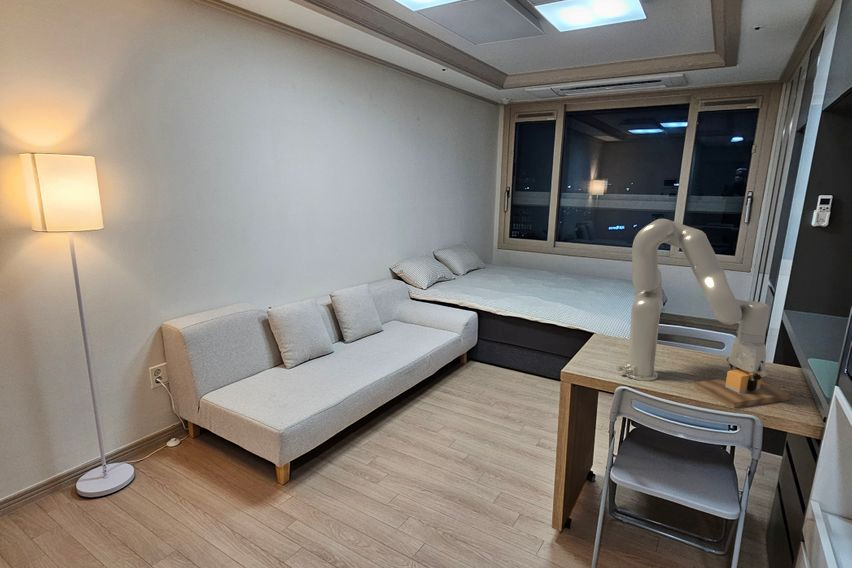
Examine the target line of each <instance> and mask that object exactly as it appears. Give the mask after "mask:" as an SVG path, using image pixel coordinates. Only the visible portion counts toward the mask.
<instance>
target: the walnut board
mask: <svg viewBox="0 0 852 568" xmlns="http://www.w3.org/2000/svg"><path fill="white" fill-rule="evenodd" d="M726 379H727V377H725V378H719V379H711V380H702V381H695V382H694V386H693V387H694V388H695V389H696V390H698V391H700V392H703V393H705V395H708V396H710V397H712V398H714V399H716V400H718V401H719V402H721V403H723V404H725V405H727V406H729V407H731V408H732V409H736V408H744V407H750V406H751V407H752V406H757V405H764V404H770V403H777V402H783V401H791V399H792V395H793V394H792V393H790V392H788V391H785V390H784V389H780V388H778V387H775V386H773V385H772V384H771V385H770V384H768V383H767V382H764V381H762V380H761V384H760V389H756V390H753V391H746V392H742V393H738V392H736V391H733V390H731V389H729V388H726V387H725V385H726Z"/></svg>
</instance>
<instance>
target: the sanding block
mask: <svg viewBox="0 0 852 568" xmlns="http://www.w3.org/2000/svg"><path fill="white" fill-rule="evenodd" d="M759 374H761V372H759ZM754 376H755V373H754ZM726 378H727V379H726V385H725V387H726V388H729V389H731V390H733V391H736V392H738V393H742V392H746V391H748V390H747V386H748V380H750V373H749V372H747V371H744V370H742V369H737V370H731V369H730V370H727V374H726ZM761 381H762V378H761V379H760V380H758V381H757V387H756V389H760V384H761Z"/></svg>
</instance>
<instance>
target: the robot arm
mask: <svg viewBox="0 0 852 568" xmlns="http://www.w3.org/2000/svg"><path fill="white" fill-rule="evenodd" d="M661 244H667V245H671V246H673V247H674V248H675V247H676V248H679V249H681V251H682V253H683V255H684V257H685V259H686V261H687V263H688V265H689V266H690V269H691V270H692V272H693V275H694V277H695V278H696V281H697V283H698V284H699V287H700V289H701V290H702V292H703V294H704V295H705V298H706V300H707V303H708V304H709V305H710V308H711V309H712V311H713V314H714V316H715V318H716V319H717V320H718V321H719V322H720V323H721V324H724V325H726V326H727V325H728V326H730V325H736V324H738V323H739V324H738V329H736V331H735V333H736V334H737V337H735V338H734V340H733V342H732V344H731V349H730V352H729V356H728V357H727V358H726V359H725V361H726V362H727V363H728V364H729V367H730V371H731V370H737V369H742V370H744V371H747V372H749V373H750V380H748V386H747V390H748V391H753V390H756V387H757V381H758V380H760V379H761V380H762V379H763V378H766V377H768V376H769V373H768V370H767V369H766V367H765V366H766V359H767V358H766V357H767V356H766V355H767V349H766V344H765V339H766V334H767V328H768V327H767V326H768V322H769V321H768V320H769V314H770V306H769V305H768V304H767V303H765V302H761V301H755V300H750V301H747V300H742V299H739V298H738V299H737V298H736V297H735V295H734V293H733V291H732V289H731V287H730V285H729V282H728V279H727V276H726V274H725V273H726V272H725V271H724V269H723V266H722V264H721V262H720V261H719V258H718V256H717V255H716V253H715V250H714V248H713V247H712V244H711V243H710V241H709V239H708V237H707V234H706V233H705V232H704V231H703V230H700V229H698V228H695V227H691V226H688V225H685V224H682V223H679V222H676V221H673V220H670V219H667V218H658V219H655V220H654V221H652V222H651V223H649V224H647V225H645V226H644V227H642V228H641V229H640V230H639V231H638V232H637V234H636V235H635V236H634V239H633V243H632V247H631V248H632V249H631V250H632V251H631V253H632V257H631V259H632V265H631V266H632V267H631V268H632V278H631V281H632V285H633V287H634V296H635V297H634V298H635V300H634V301H633V303H632V306H631V315H630V331H629V341H628V343H629V344H628V353H627V360H626V361H625V362H624V364H623V365H616V366H615V370H616V371H617V372H622V374H623V375H624V376H625V377H628V378H630V379H631V380H637V381H646V382H648V381H649V382H651V381H655V380H657V379H658V377H659V373H658V372H657V371H656V370H655V362H656V354H657V346H658V335H659V327H660V319H661V317H660V316H661V311H662V307H663V286H662V284H663V282H662V281H663V280H662V273H661V270H660V269H659V265H658V264H659V263H658V259H659V255H658V251H659V250H658V249H659V246H661ZM759 372H761V374H759ZM754 373H755V376H754Z"/></svg>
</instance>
